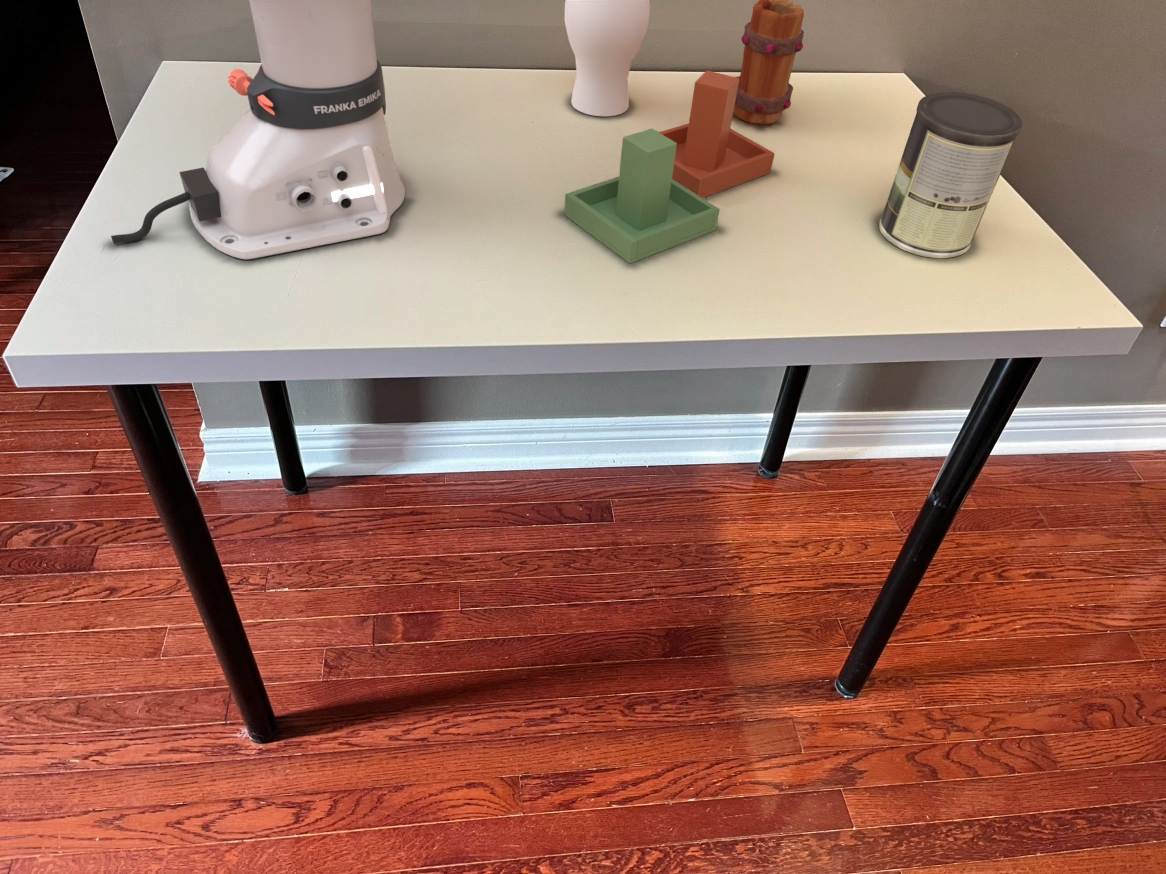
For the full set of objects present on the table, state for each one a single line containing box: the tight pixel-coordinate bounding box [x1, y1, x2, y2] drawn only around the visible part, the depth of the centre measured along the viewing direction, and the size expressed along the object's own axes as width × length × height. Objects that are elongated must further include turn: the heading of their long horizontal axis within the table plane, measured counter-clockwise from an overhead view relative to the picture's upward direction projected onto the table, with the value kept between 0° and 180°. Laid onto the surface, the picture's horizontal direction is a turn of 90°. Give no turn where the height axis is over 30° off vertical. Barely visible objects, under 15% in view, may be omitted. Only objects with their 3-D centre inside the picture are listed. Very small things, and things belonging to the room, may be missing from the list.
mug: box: [733, 0, 805, 125], centre depth 115 cm, size 15×8×15 cm, turn 168°
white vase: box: [564, 0, 651, 117], centre depth 113 cm, size 11×11×15 cm
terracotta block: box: [683, 69, 739, 172], centre depth 103 cm, size 4×4×10 cm
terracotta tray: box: [658, 122, 776, 199], centre depth 106 cm, size 12×11×3 cm
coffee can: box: [878, 91, 1023, 259], centre depth 94 cm, size 10×10×14 cm
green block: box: [616, 128, 677, 231], centre depth 93 cm, size 4×4×9 cm
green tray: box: [563, 175, 720, 265], centre depth 96 cm, size 12×11×3 cm
